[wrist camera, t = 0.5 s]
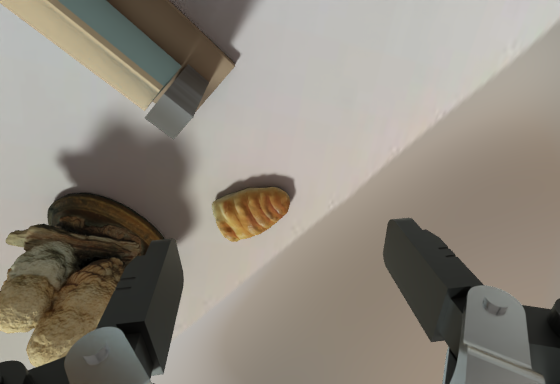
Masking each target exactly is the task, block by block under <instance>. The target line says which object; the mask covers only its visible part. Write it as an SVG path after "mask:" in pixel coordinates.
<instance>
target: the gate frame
mask: <svg viewBox="0 0 560 384" xmlns="http://www.w3.org/2000/svg"><path fill="white" fill-rule="evenodd" d="M106 1H107V2H109V3H110V4H111V5H112V6H113V7H114V8H115V9H117V10H118V11H119V12H120V13H121V14H122V15H124V16H125V17H126V18H127V19H128V20H129V21H130V22H132V23H133V24H134V25H135V26H136V27H137V28H138V29H140V30H141V31H142V32H143V33H144V34H145V35H147V36H148V37H149V38H150V39H151V40H152V41H153V42H155V43H156V44H157V45H158V46H159V47H160V48H161V49H163V50H164V51H165V52H166V53H167V54H168V55H170V56H171V57H172V58H173V59H174V60H175V61H176V62H178V63H179V64H180V65H181V68H180V69H179V70H178V72H177V73H176V74H175V75H174V77H173V78H172V79H171V80H170V82H169V83H168V84H167V85H166V86H165V87H164V89H163V90H162V91H161V92H160V93H159V94H158V96H157V97H156V98H155V99H154V100H153V102H154V103H156V104H155V105H154V107H153V108H152V109H151V111H150V112H149V113H148V114H147V116H146V117H145V119H146V120H148V121H149V122H150V123H152V124H153V125H155V126H156V127H157V128H159V129H160V130H161V131H163V132H164V133H165V134H167V135H168V136H169V137H171V138H172V139H175V137H176V136H177V135H178V134H179V133H180V132H181V130H182V129H183V128H184V127H185V126H186V125H187V123H188V122H189V121H190V120H191V119H192V118H193V116H194V114H195V112H196V111H197V110H198V109H199V107H200V106H201V105H202V104H203V103H204V102H205V100H206V99H207V98H208V97H209V96H210V95H211V93H212V92H213V91H214V90H215V89H216V88H217V87H218V85H219V84H220V83H221V82H222V81H223V80H224V78H225V77H226V76H227V75H228V74H229V73H230V71H231V70H232V69H233V68H234V67H235V63H234V62H233V61H232V60H231V59H230V58H228V57H227V56H226V55H225V54H224V53H223V52H222V51H221V50H220V49H219V48H218V47H217V46H216V45H215V44H214V43H213V42H212V41H211V40H210V39H209V38H208V37H207V36H206V35H205V34H203V33H202V32H201V31H200V30H199V29H198V28H197V27H196V26H195V25H194V24H193V23H192V22H191V21H190V20H189V19H188V18H187V17H186V16H185V15H184V14H183V13H182V12H181V11H179V10H178V9H177V8H176V7H175V6H174V5H173V4H172V3H171V2H170V1H169V0H106Z"/></svg>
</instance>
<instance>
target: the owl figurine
mask: <svg viewBox="0 0 560 384" xmlns="http://www.w3.org/2000/svg"><path fill="white" fill-rule="evenodd" d="M48 224H49V225H46V224H40V225H39V224H38V225H34V226H31V227H29V229H26V230H24V231H19V230H17V231H16V230H15V232H11V233H10V234H9V235H8V238H7V239H6V243H7V244H9V245H13V246H18V247H24V250H26V252H25V253H24V254H22V255H21V256H20V257H18V258H17V259H16V261H15V262H14V264H13V265H12V266H11V268H10V269H8V272H7V274H8V275H7V277H8V278H7V280H6V281H5V282H4V283H3V284H4V285H3V286H2V288H1V291H0V331H3V332H5V333H14V332H28V331H30V330H31V329H33V328H35V330H34V332H33V334H32V336H31V338H30V340H29V343H28V345H27V349H26V351H27V354H28V356H29V360H30V363H31V364H32V365H33V366H35V367H38V366H41V365H44V364H46V363H49V362H52V361H54V360H57V359H60V358H62V357H64V356H66V355H67V353H68V351H69V350H70V348H71V347H72V346H73V345H74V344H75V343H76V342H77V341H78V340H79V339H80V338H81V337H83V336H84V335H86V334H87V333H89V332H91V331H93V330H95V329H96V327H97V325H98V323H99V321H100V319H101V317H102V315H103V313H104V311H105V309H106V307H107V305H108V303H109V301H110V298H111V296H112V294H113V292H114V291H115V290H116V289H115V288H116V286H117V284H118V282H119V281H120V278H121V276H122V274H123V272H124V270H125V267H126V266H127V265H128V264H129V263H130V262H131V261H132V260H133V259H134V258H135V257H136V256H143V255H145V254H146V252H147V249H148V247H149V245H150V243H151V241H152V240H163V239H164V237H163V236H162V235H161V233H160V232H159V231H158V230H157V229H156V228H155V227H154V226H153V225H152V224H151V223H149V222H148V221H147V220H146V219H145V218H143V217H142V216H140V215H139V214H137V213H136V212H135V211H133V210H132V209H130V208H129V207H127V206H125V205H123V204H121V203H118V202H116V201H113V200H111V199H109V198H105V197H102V196H98V195H94V194H88V193H80V194H68V195H66V196H64V197H62V198H60V199H58V200H56V201H55V202H54V203H53V204H51V206H50V207H49V209H48ZM69 231H70V232H69ZM71 231H72V232H76V233H77V234H76V233H72V232H71ZM85 235H86V236H85ZM94 257H99V258H106V259H103V260H97V261H94V262H93V260H94ZM109 257H112V258H109ZM96 259H97V258H96Z"/></svg>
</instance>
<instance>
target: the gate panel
mask: <svg viewBox="0 0 560 384" xmlns="http://www.w3.org/2000/svg"><path fill="white" fill-rule="evenodd" d="M0 3H1V4H2V5H3V6H5V7H6V8H7V9H9V10H10V11H11V12H13V13H14V14H15V15H17V16H18V17H19V18H21V19H22V20H23V21H25V22H26V23H27V24H29V25H30V26H31V27H33V28H34V29H35V30H37V31H38V32H40V33H41V34H42V35H44V36H45V37H46V38H48V39H49V40H50V41H52V42H53V43H54V44H56V45H57V46H58V47H60V48H61V49H62V50H64V51H65V52H66V53H68V54H69V55H70V56H72V57H73V58H74V59H76V60H77V61H78V62H80V63H81V64H82V65H84V66H85V67H86V68H88V69H89V70H90V71H92V72H93V73H94V74H96V75H97V76H98V77H100V78H101V79H102V80H104V81H105V82H106V83H108V84H109V85H110V86H112V87H113V88H114V89H116V90H117V91H118V92H120V93H121V94H122V95H124V96H125V97H127V98H128V99H129V100H131V101H132V102H133V103H135V104H136V105H137V106H139V107H140V108H141V109H143V110H144V111H145V110H146V108H147V107H148V106H149V105H150V104H151V102H152V101H153V100H154V99H155V98H156V97H157V96H158V94H159V93H160V92H161V91H162V90H163V89H164V87H165V86H166V85H167V84H168V83H169V82H170V80H171V79H172V78H173V77H174V75H175V74H176V73H177V72H178V70H179V69H180V68H181V65H180V64H179V63H178V62H176V61H175V60H174V59H173V58H172V57H171V56H170V55H168V54H167V53H166V52H165V51H164V50H163V49H161V48H160V47H159V46H158V45H157V44H156V43H155V42H153V41H152V40H151V39H150V38H149V37H148V36H147V35H145V34H144V33H143V32H142V31H141V30H140V29H138V28H137V27H136V26H135V25H134V24H133V23H132V22H130V21H129V20H128V19H127V18H126V17H125V16H124V15H122V14H121V13H120V12H119V11H118V10H117V9H115V8H114V7H113V6H112V5H111V4H110V3H109V2H107V1H106V0H0Z"/></svg>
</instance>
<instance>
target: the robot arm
mask: <svg viewBox="0 0 560 384" xmlns="http://www.w3.org/2000/svg"><path fill="white" fill-rule="evenodd" d="M383 257H384V262H385V265H386V268H387V269H388V271H389V273H390V274H391V276H392V278H393V279H394V281H395V283H396V284H397V286H398V288H399V289H400V291H401V293H402V294H403V296H404V298H405V299H406V301H407V303H408V304H409V306H410V308H411V309H412V311H413V313H414V314H415V316H416V318H417V319H418V321H419V323H420V324H421V326H422V328H423V329H424V331H425V333H426V334H427V336H428V338H429V339H430V341H431V342H436V341H444V340H445V342H446V343H447V345H448V346H449V347H448V350H447V353H446V361H445V368H444V375H443V383H442V384H560V299H558V300H557V301H556V302H555V304H554V306H553V308H552V309H544V308H538V307H531V306H524V305H521V304H520V302H519V301H518V300H517V299H515V298H514V297H513V296H511V295H510V294H508V293H507V292H505V291H503V290H501V289H498V288H495V287H491V286H485V285H483V284H482V283H481V282H480V281H479V279H477V277H476V276H475V275H474V274H473V273H472V272H471V271H470V270H469V269H468V268H467V267H466V266H465V264H464V263H462V261H461V260H460V259H459V258H458V257H456V256H455V254H454V253H453V252H452V251H451V250H450V249H448V246H447V245H446V244H445V243H444V242H443V241H442V240H441V239H440V238H439V237H437V236H436V235H434V234H433V233H431V232H429V231H428V230H422V229H421V228H420V227H419V226H418V225H417V223H416V222H415V221H414V220H413V219H411V218H402V219H392V220H390V221H389V222H388V226H387V232H386V238H385V244H384V251H383ZM183 282H184V277H183V270H182V265H181V261H180V257H179V253H178V249H177V245H176V241H175V240H174V239H163V240H152V241H151V243H150V245H149V247H148V249H147V252H146V254H145V255H143V256H136V257H135V258H134V259H133V260H132V261H131V262H130V263H129V264H128V265H127V266H126V267H125V270H124V272H123V274H122V276H121V278H120V281H119V282H118V284H117V286H116V288H115V289H116V290H115V291H114V292H113V294H112V296H111V298H110V301H109V303H108V305H107V307H106V309H105V311H104V313H103V315H102V317H101V319H100V321H99V323H98V325H97V327H96V329H95V330H93V331H91V332H89V333H87V334H86V335H84V336H83V337H81V338H80V339H79V340H78V341H77V342H76V343H75V344H74V345H73V346H72V347H71V348H70V350H69V351H68V353H67V355H66V356H64V357H62V358H60V359H57V360H54V361H52V362H49V363H46V364H44V365H41V366H38V367H36V368H33V369H31V370H27V369H26V367H25V366H24V364H22V363H21V362H19V361H5V362H1V363H0V384H152V382H151V381H150V378H151V376H153V375H160V374H163V373H164V369H165V365H166V361H167V356H168V352H169V347H170V343H171V338H172V334H173V330H174V325H175V321H176V316H177V312H178V308H179V303H180V299H181V294H182V290H183ZM153 384H154V383H153Z"/></svg>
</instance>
